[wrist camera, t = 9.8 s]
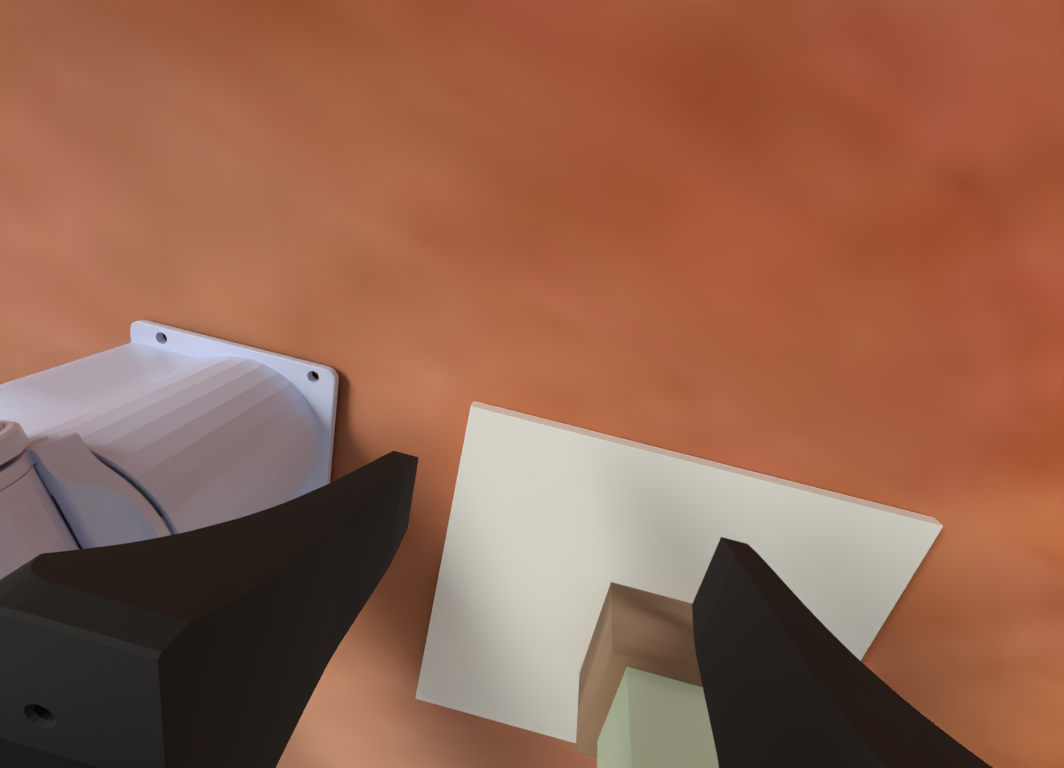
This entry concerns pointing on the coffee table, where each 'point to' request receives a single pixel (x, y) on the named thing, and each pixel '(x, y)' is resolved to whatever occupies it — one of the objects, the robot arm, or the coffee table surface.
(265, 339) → the coffee table surface
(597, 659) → the walnut block
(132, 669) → the robot arm
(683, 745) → the sage block
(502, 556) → the baseplate
